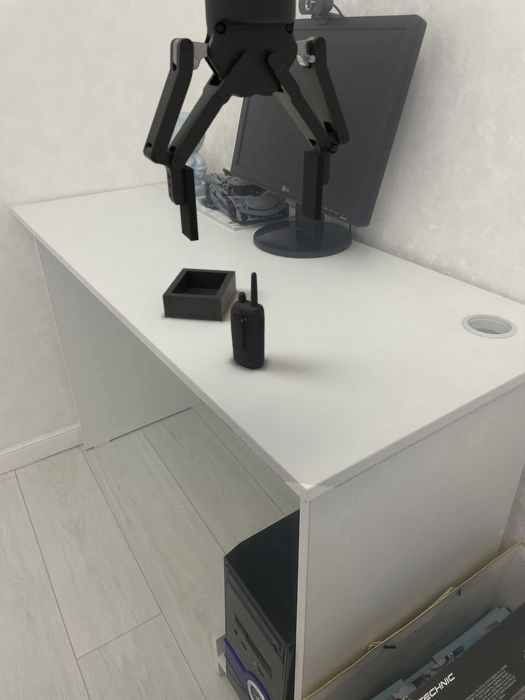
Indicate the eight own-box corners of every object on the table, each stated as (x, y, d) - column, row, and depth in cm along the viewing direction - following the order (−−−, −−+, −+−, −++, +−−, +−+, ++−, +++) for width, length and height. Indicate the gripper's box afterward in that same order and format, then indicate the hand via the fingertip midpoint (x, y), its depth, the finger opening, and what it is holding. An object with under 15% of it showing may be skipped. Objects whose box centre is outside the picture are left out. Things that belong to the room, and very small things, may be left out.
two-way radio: (269, 363, 79) (269, 271, 71) (251, 376, 76) (249, 282, 68) (241, 351, 82) (238, 262, 74) (223, 364, 79) (218, 272, 71)
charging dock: (164, 317, 92) (162, 295, 90) (184, 288, 102) (182, 267, 100) (221, 321, 91) (220, 299, 88) (236, 291, 101) (235, 270, 99)
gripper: (102, -47, 34) (143, 259, 45) (403, -31, 43) (376, 218, 54) (81, -35, 40) (122, 233, 51) (352, -24, 49) (336, 201, 60)
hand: (253, 226), depth 53 cm, fingers open, 13 cm apart
